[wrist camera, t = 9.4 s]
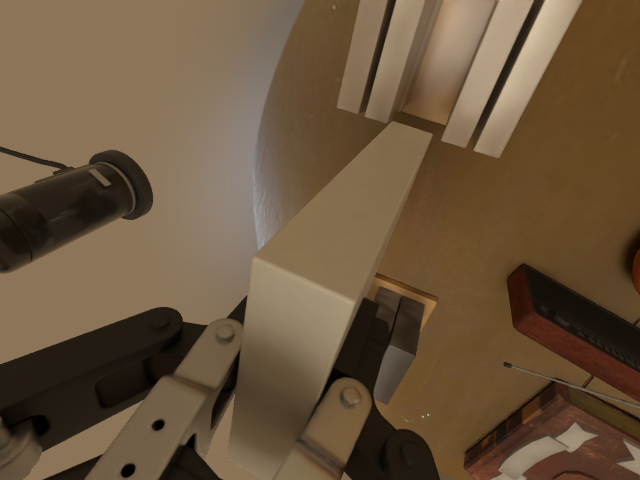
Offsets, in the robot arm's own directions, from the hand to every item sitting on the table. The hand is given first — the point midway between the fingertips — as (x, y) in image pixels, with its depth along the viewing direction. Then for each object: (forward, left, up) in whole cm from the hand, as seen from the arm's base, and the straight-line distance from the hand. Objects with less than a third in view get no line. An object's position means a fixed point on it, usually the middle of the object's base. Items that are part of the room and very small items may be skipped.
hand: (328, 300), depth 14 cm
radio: (+22, -12, -28) cm, 37 cm away
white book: (0, 0, -10) cm, 10 cm away
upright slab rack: (-1, +8, -27) cm, 29 cm away
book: (+34, -35, -28) cm, 56 cm away
